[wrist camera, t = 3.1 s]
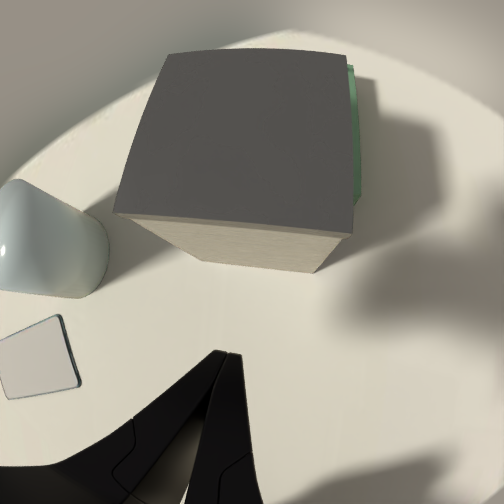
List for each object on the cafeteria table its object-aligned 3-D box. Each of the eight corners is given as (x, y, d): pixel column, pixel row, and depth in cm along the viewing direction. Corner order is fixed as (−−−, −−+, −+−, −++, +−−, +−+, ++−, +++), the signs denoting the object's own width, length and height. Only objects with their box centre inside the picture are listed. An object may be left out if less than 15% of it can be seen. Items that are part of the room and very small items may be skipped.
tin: (314, 275, 20) (352, 233, 8) (200, 262, 21) (112, 212, 10) (321, 169, 21) (345, 55, 10) (217, 161, 22) (168, 54, 11)
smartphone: (82, 386, 20) (6, 400, 20) (85, 385, 20) (9, 399, 21) (59, 312, 21) (-9, 344, 22) (63, 312, 22) (-6, 344, 22)
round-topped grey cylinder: (101, 306, 21) (21, 300, 12) (45, 290, 22) (-27, 278, 13) (117, 217, 22) (47, 175, 14) (59, 213, 23) (-6, 181, 15)
